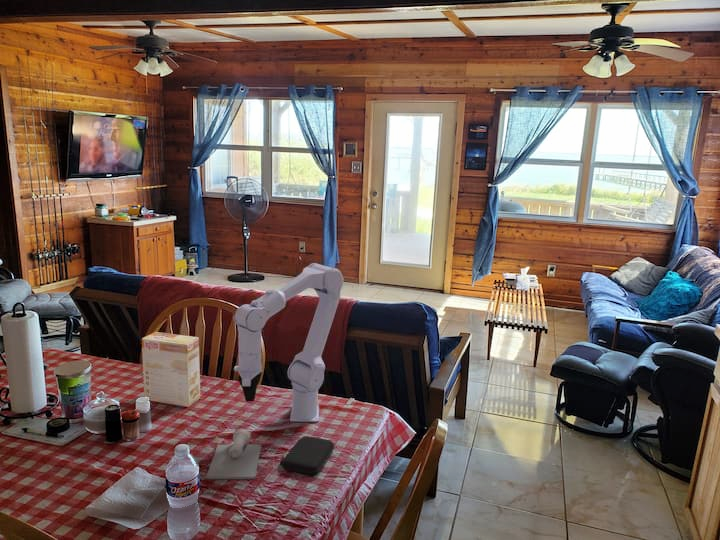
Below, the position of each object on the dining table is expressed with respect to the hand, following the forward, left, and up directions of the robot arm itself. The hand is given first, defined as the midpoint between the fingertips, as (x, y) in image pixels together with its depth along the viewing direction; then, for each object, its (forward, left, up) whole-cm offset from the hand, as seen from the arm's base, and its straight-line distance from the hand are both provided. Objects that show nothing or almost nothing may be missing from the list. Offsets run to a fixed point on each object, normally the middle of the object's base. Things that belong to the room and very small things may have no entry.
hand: (250, 400), depth 142 cm
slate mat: (+12, -2, -10) cm, 16 cm away
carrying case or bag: (+11, +15, -11) cm, 22 cm away
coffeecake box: (-22, -26, -11) cm, 36 cm away
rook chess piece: (+4, -1, -8) cm, 9 cm away
